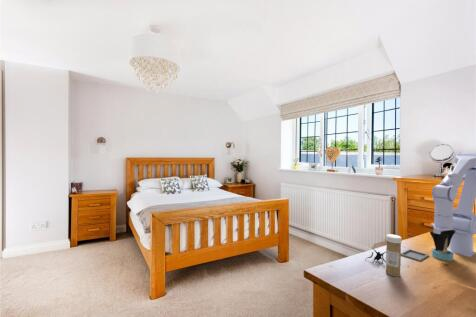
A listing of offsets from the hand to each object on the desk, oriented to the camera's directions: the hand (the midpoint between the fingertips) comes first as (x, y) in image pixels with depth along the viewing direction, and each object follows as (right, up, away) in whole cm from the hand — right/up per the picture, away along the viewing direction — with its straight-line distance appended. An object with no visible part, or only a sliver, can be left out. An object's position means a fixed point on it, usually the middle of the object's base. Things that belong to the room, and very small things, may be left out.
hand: (442, 248), depth 100 cm
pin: (0, -4, 0) cm, 4 cm away
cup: (0, -4, 0) cm, 4 cm away
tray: (-10, -4, +1) cm, 11 cm away
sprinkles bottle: (-28, -4, -13) cm, 31 cm away
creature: (-29, -4, -5) cm, 30 cm away
